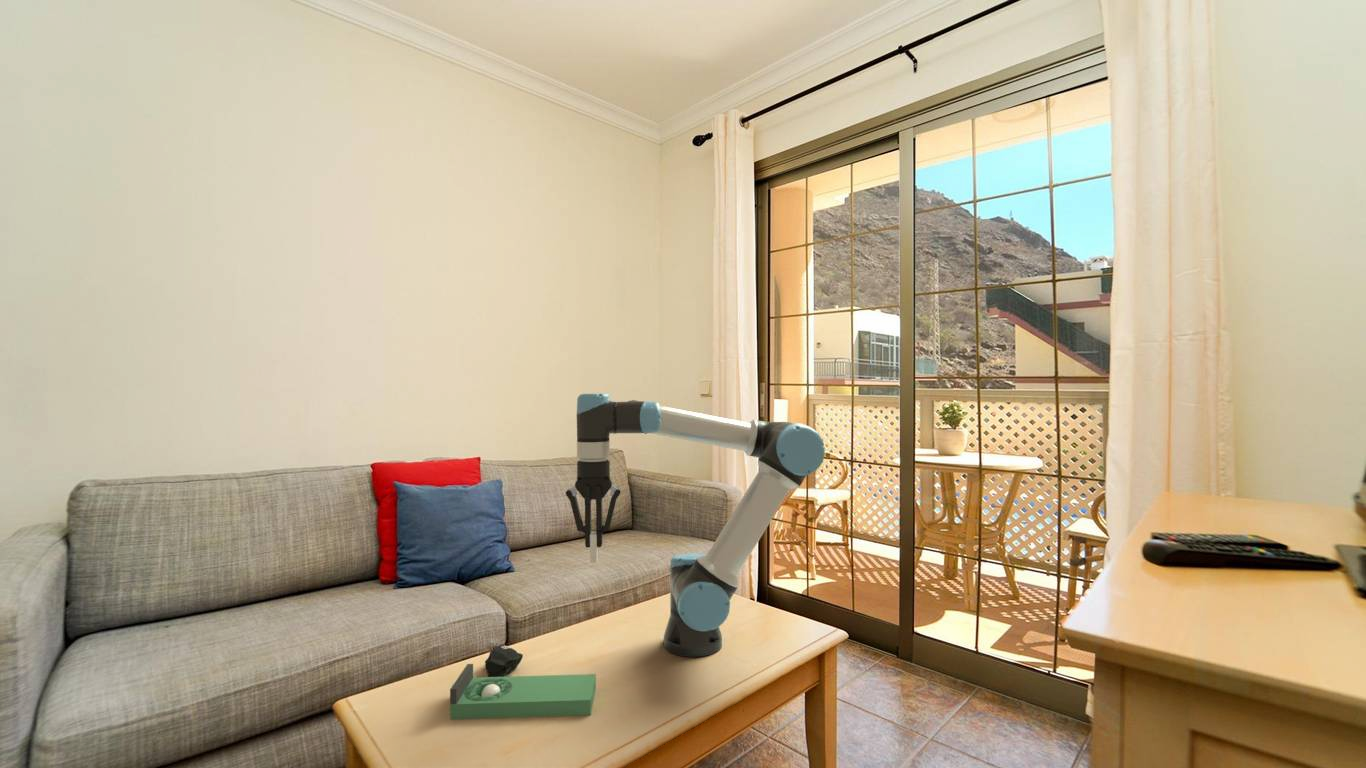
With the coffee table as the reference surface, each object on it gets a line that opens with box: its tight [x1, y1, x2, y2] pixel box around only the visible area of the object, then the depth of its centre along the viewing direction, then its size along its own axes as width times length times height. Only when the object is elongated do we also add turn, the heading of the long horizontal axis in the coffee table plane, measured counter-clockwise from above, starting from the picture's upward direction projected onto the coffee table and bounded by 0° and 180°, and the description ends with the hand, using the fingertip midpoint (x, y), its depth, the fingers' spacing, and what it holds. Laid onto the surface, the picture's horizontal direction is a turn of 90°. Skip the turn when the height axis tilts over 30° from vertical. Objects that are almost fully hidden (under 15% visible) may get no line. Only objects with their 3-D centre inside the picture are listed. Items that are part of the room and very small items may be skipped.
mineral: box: [484, 644, 524, 677], centre depth 137 cm, size 10×9×6 cm
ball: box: [481, 684, 501, 696], centre depth 123 cm, size 4×4×4 cm
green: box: [449, 663, 597, 720], centre depth 124 cm, size 28×11×6 cm, turn 93°
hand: (593, 561), depth 136 cm, fingers closed
